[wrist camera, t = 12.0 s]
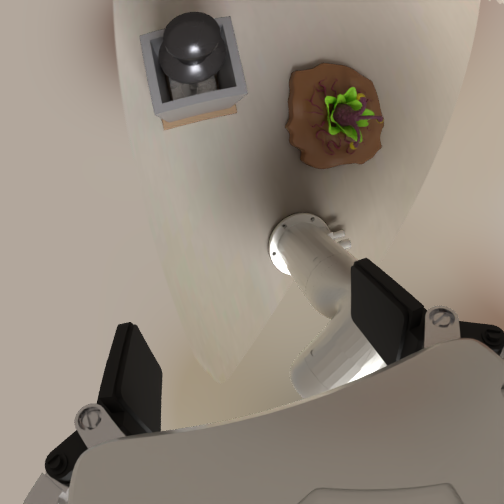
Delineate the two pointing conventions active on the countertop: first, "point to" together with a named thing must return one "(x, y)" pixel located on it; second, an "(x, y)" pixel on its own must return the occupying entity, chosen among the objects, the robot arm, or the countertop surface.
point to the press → (198, 105)
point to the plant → (333, 116)
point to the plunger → (192, 54)
